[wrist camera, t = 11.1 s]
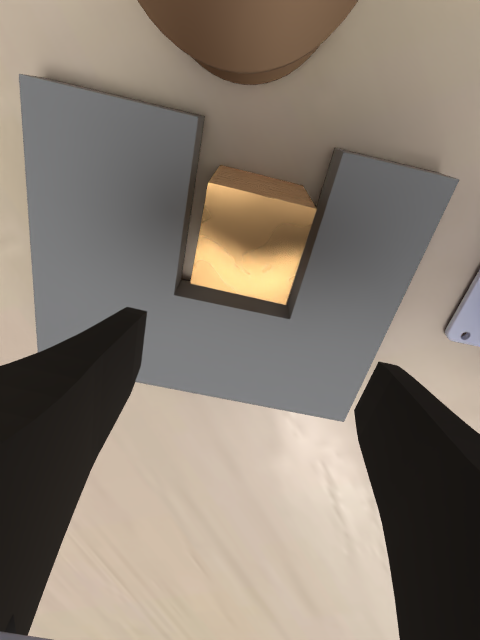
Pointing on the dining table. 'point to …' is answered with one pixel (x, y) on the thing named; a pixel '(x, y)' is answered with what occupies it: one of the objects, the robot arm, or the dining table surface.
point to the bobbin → (248, 33)
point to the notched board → (170, 243)
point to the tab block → (252, 234)
